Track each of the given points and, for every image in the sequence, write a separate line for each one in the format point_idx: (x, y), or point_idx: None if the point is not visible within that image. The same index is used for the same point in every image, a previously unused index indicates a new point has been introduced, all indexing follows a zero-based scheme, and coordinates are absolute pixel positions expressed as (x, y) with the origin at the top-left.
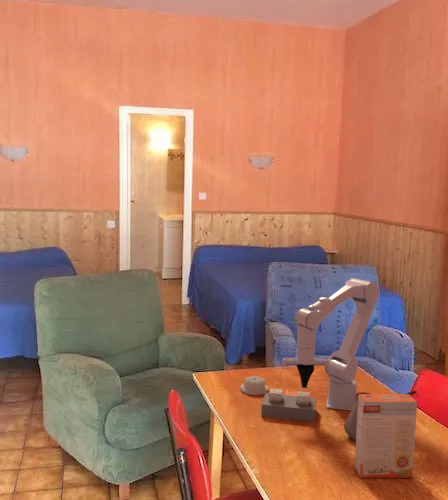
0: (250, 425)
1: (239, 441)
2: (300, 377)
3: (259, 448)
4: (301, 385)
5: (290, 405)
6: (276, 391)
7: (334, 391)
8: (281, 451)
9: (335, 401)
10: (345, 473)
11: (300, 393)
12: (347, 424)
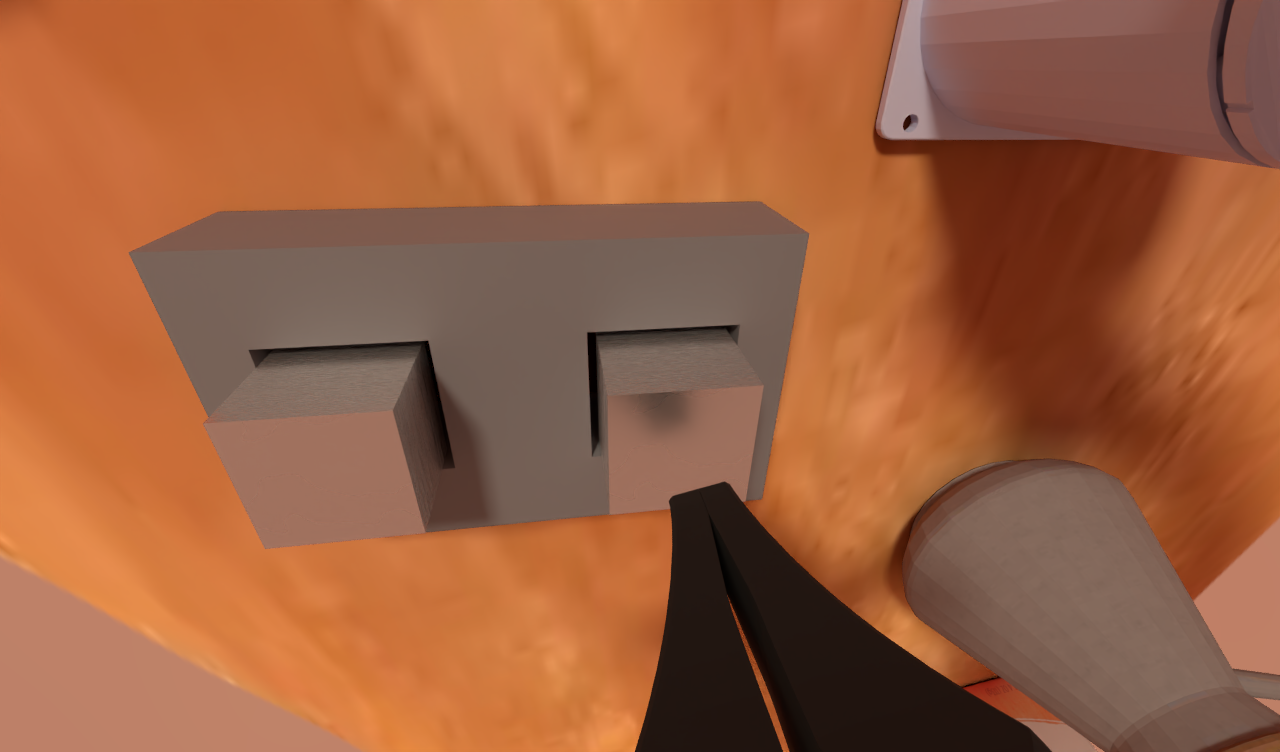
0: (310, 599)
1: (343, 732)
2: (673, 599)
3: (464, 740)
4: (670, 506)
5: (546, 487)
6: (335, 493)
7: (1097, 131)
8: (567, 727)
9: (1008, 127)
10: None
11: (644, 455)
12: (935, 619)
